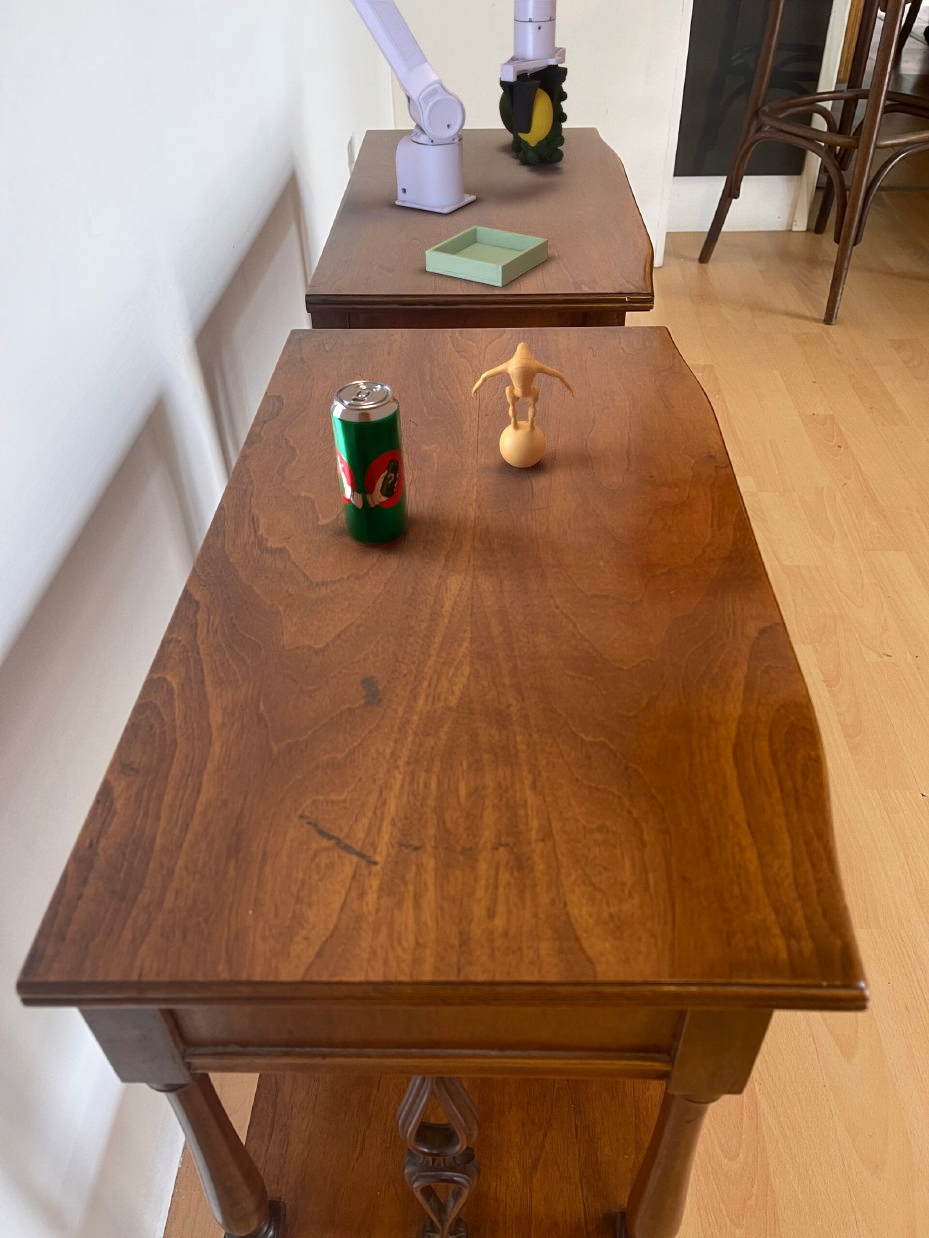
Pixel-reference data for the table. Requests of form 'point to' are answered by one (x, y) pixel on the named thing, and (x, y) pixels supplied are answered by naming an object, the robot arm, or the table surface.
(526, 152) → the dark green bumpy figure
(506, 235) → the tray
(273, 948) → the table surface
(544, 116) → the lemon
